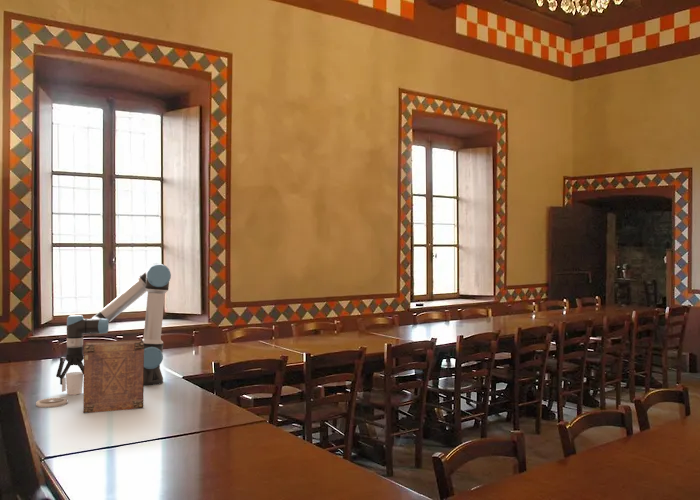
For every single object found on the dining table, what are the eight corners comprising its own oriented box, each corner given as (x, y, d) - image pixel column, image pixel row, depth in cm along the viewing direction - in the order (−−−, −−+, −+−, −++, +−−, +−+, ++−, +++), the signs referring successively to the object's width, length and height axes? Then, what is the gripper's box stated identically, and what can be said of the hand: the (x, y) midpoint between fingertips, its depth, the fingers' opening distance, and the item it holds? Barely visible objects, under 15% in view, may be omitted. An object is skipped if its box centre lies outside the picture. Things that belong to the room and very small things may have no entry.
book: (82, 413, 277) (83, 344, 277) (83, 408, 285) (83, 342, 285) (143, 408, 286) (144, 342, 286) (142, 403, 294) (142, 339, 294)
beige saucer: (71, 400, 300) (71, 397, 300) (60, 407, 287) (60, 403, 287) (43, 400, 299) (43, 397, 299) (31, 407, 286) (31, 404, 286)
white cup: (86, 392, 318) (86, 372, 318) (77, 395, 311) (78, 375, 311) (71, 391, 319) (71, 371, 319) (62, 395, 311) (62, 374, 311)
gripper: (48, 347, 311) (48, 392, 311) (95, 347, 312) (94, 392, 312) (55, 345, 318) (54, 389, 318) (100, 345, 319) (99, 389, 319)
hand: (74, 391), depth 315 cm, fingers open, 10 cm apart
